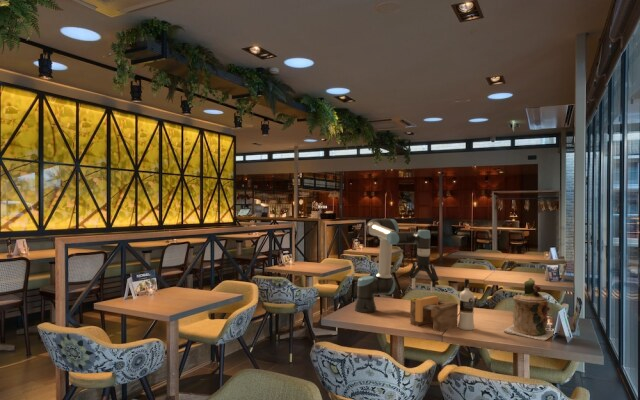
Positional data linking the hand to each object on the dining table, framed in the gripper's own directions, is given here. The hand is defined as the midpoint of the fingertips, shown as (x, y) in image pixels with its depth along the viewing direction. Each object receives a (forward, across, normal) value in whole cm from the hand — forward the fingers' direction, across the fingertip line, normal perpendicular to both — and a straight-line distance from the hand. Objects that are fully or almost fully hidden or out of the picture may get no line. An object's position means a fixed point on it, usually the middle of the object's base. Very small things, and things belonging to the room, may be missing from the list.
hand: (422, 290), depth 279 cm
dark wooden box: (+23, +1, +12) cm, 26 cm away
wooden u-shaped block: (+18, +1, +4) cm, 18 cm away
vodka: (+23, +18, +21) cm, 36 cm away
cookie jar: (+23, +47, +42) cm, 67 cm away
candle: (+24, -23, +29) cm, 44 cm away
